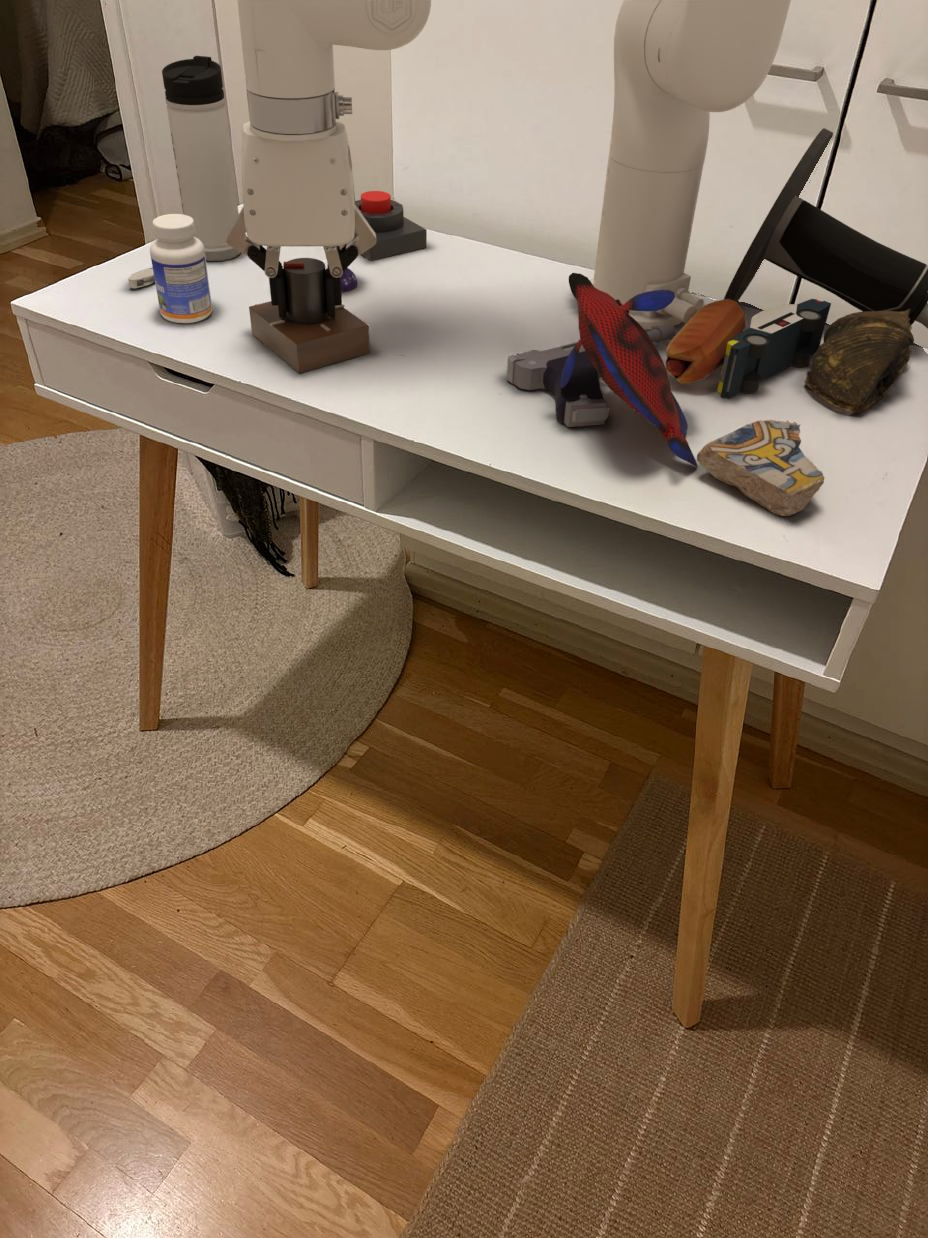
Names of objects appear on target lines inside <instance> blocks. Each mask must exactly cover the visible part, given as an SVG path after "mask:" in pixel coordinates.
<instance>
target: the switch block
mask: <svg viewBox="0 0 928 1238" xmlns="http://www.w3.org/2000/svg"><path fill="white" fill-rule="evenodd" d="M355 205H356V206H357V208H358V209H359V211H360V212H361V214H362V215H363V216H364V218H365V219H366V221H367V222H368V224H369V225H370V226H371V228H372V229H373V231H374V232H375V234H376V244H375V245H374V246H373V247H371V248H370V249H368V250H367V251H365V252H364V253H361V254H360V255H361V256H363V257H364V258H366V259H367V260H369V261H375V260H380V259H384V258H388V257H392V256H396V255H401V254H405V253H410V252H414V251H417V250H421V249H425V248H427V233H428V232H427V229H426V228H425V227H422V226H421V225H419V224H418V223H416V222H414V221H413V220H411V219H409V218H407V217H405V215H404V206H403V204H402V203H400V202H398V201H396V200H393V199H391V211H390V212H387V213H382V214H371V213H366V212H363V211H361V199H358V200H355ZM357 236H358V234H357V233H356V231H355V233H354V238H353V240H354V239H355V238H356V237H357ZM353 240H352V241H353ZM345 245H346V244H345ZM345 245H344V246H345Z"/></svg>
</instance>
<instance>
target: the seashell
mask: <svg viewBox="0 0 928 1238" xmlns="http://www.w3.org/2000/svg"><path fill="white" fill-rule="evenodd" d="M910 310H911V309H908V310H906V311H904V312H896V311H867V312H863V311H857V312H852V313H849V314H846V315H843V316H842V317H839V318H837V319H836V320H835V321H833V322H832V323H830V325H829V326H828V328H827V329H826V330H825V331H824V332H823V343H820V346H819V348H818V350H817V351H816V352H815V353H814V354H812V358H811V365H810V369H809V370H806V377H805V380H803V382H804V383H805V385H806V386H807V387H808V388H809V389H810V390H812V392H814V394H815V395H816V396H818V397H820V398H821V399H822V400H824V401H826V402H827V403H829V404H830V405H831V406H834V407H836V408H838V409H840V410H841V411H842V412H844V411H845V412H847V411H849V413H861V412H865V411H866V410H867V409H868V408H870V407H871V406H873V404H875V403H876V402H878V401H879V400H881V399H882V398H884V397H885V394H886V393H887V392H888V391H889V389H890V388H891V387H892V386H893V384H894V383H895V382H896V380H897V379H898V377H899V375H900V374H901V372H902V371H903V370H904V368H905V366H906V365H907V364H908V363H909V361H910V359H911V354H912V350H911V349H912V348H911V347H912V346H913V345H914V343H915V338H914V335H913V333H912V332H911V331H912V330H913V326H912V325H911V326H910V323H909V320H910V318H909V313H910Z"/></svg>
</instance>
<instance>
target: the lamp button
mask: <svg viewBox="0 0 928 1238" xmlns="http://www.w3.org/2000/svg"><path fill="white" fill-rule="evenodd" d="M360 200H361V211H363V212H366V213H371V214H382V213H387V212H390V211H391V200H392V195H391V194H390V193H389V192H386V191H381V190H368V191H365V192H363V193H361V194H360Z"/></svg>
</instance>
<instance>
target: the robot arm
mask: <svg viewBox="0 0 928 1238" xmlns="http://www.w3.org/2000/svg"><path fill="white" fill-rule="evenodd" d="M236 1H237V8H238V9H237V10H238V19H239V29H240V30H239V31H240V38H241V48H242V59H243V66H244V68H243V69H244V75H245V87H246V97H247V98H246V99H247V107H248V116H249V117H248V119H249V121H247V122H245V123H244V124H243V125H242V126H243V127H242V135H241V137H242V138H241V188H242V189H241V190H242V191H241V192H242V205H243V206H242V208H241V209H240V211H239V212H238V213H239V215H238V217H237V218H236V220H235V222H234V224H233V226H232V227H231V229H230V231H229V233H228V236H227V243H228V244H229V245H230V246H231V247H233V248H235V249H236V250H238V251H240V252H241V253H240V254H242V255H246V256H247V257H248V258H249V260H250V261H252V262H253V263H254V264H255V265H256V266H257V267H259V268H260V269H261V271H263V272H264V275H265V276H266V277H267V278H268V283H269V294H270V301H271V303H272V306H278V309H279V318H285V316H287V302H286V291H285V280H284V269H283V264H282V263H283V262H281V261H280V255H281V247H323V250H324V254H325V258H326V261H327V265H326V267H325V269H326V278H325V280H326V297H327V313H328V316H330V317H335V305H342V304H343V296H342V293H343V292H341V276H342V274H343V272H344V271H345V269H346V268H349V267H350V266H351V264H353V263H354V261H356V259H357V258H358V256H360V255H361V253H364V252H365V251H367V250H368V249H370V248H371V247H373V246H374V245H375V244H376V234H375V232H374V231H373V229H372V228H371V226H370V225H369V224H368V222H367V221H366V219H365V218H364V216H363V215H362V214H361V212H360V211H359V209H358V208H357V206H356V205H355V201H356V196H355V184H354V183H355V182H354V173H353V162H352V154H351V148H350V144H349V138H348V134H347V129H346V126H345V124H344V123H342V122H340V121H337V120H340V117H344V116H345V115H353V97H352V96H344V94H343V95H341V94H340V95H339V91H336V85H335V84H336V83H335V63H334V46H341V47H350V48H358V49H364V50H371V51H372V50H373V51H392V50H395V49H400V48H403V47H404V46H406V45H408V44H410V43H411V42H413V41H414V40H415V39H416V38H417V37H418V36H419V35H420V34H421V32H423V30H424V28H425V26H426V25H427V22H428V20H429V16H430V12H431V7H432V0H236ZM791 2H792V0H623V1H622V3H621V6H620V7H619V11H618V14H617V18H616V21H615V27H614V37H613V75H614V76H613V77H614V78H613V79H614V81H613V82H614V94H613V95H614V97H613V114H612V124H611V125H612V126H611V134H610V142H609V151H608V159H607V166H606V175H605V176H606V177H605V184H604V191H603V199H602V200H603V201H602V208H601V209H602V210H601V216H600V224H599V231H598V232H599V233H598V242H597V248H596V258H595V267H594V273H593V277H592V278H591V279H589V280H590V281H591V283H592V284H593V286H594V287H595V288H597V289H598V290H600V291H603V292H605V293H608V294H609V295H610V296H612V297H613V298H614V299H615V300H617V299H619V300H620V301H621V302H622V303H623V304H625V303H626V302H627V301H628V300H630V299H631V298H633V297H634V296H636V295H638V294H641V293H645V292H649V291H655V290H670V291H672V292H674V294H675V298H674V300H673V301H672V303H671V304H669V305H668V306H667V307H666V308H663V309H661V310H658V311H631V310H629V315H630V316H631V317H633V318H634V319H635V320H636V321H637V322H638V323H639V324H640V325H641V326H642V327H643V329H644V330H645V331H650V330H653V328H651V327H653V326H662V325H665V324H670V325H673V326H674V327H675V326H677V325H680V324H682V323H684V324H686V323H687V322H688V321H689V320H690V319H691V318H692V317H693V316H694V314H695V313H696V312H697V311H699V310H700V309H701V308H702V307H704V306H705V301H704V299H703V298H701V297H699V296H697V295H695V294H692V293H690V291H689V289H690V284H691V278H692V275H689V274H687V273H685V269H686V263H687V258H688V251H689V248H690V247H689V246H690V240H691V236H692V230H693V225H694V219H695V214H696V209H697V202H698V198H699V197H698V196H699V192H700V191H699V190H700V187H701V181H702V177H703V176H702V175H703V170H704V164H705V160H706V154H707V148H708V143H709V134H710V120H711V119H710V117H711V115H710V113H724V112H728V111H732V110H734V109H736V108H737V107H738V108H739V106H741V105H743V104H744V103H746V102H747V101H748V100H749V99H750V98H751V97H752V96H754V94H756V92H757V91H758V90H759V88H760V87H761V86H762V84H763V83H764V81H765V79H766V78H767V76H768V74H769V72H770V71H771V68H772V66H773V63H774V61H775V58H776V55H777V53H778V50H779V47H780V43H781V40H782V36H783V32H784V29H785V28H784V27H785V24H786V20H787V17H788V14H789V13H788V12H789V9H790V6H791ZM355 231H356V233H357V234H358V236H357V237H356V238H355V239H354V240H353V238H354V233H355ZM352 240H353V241H352ZM345 244H346V245H345ZM341 245H344V247H343V248H342V249H341V250H340V246H341ZM576 303H577V305H578V302H577V301H576Z"/></svg>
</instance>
